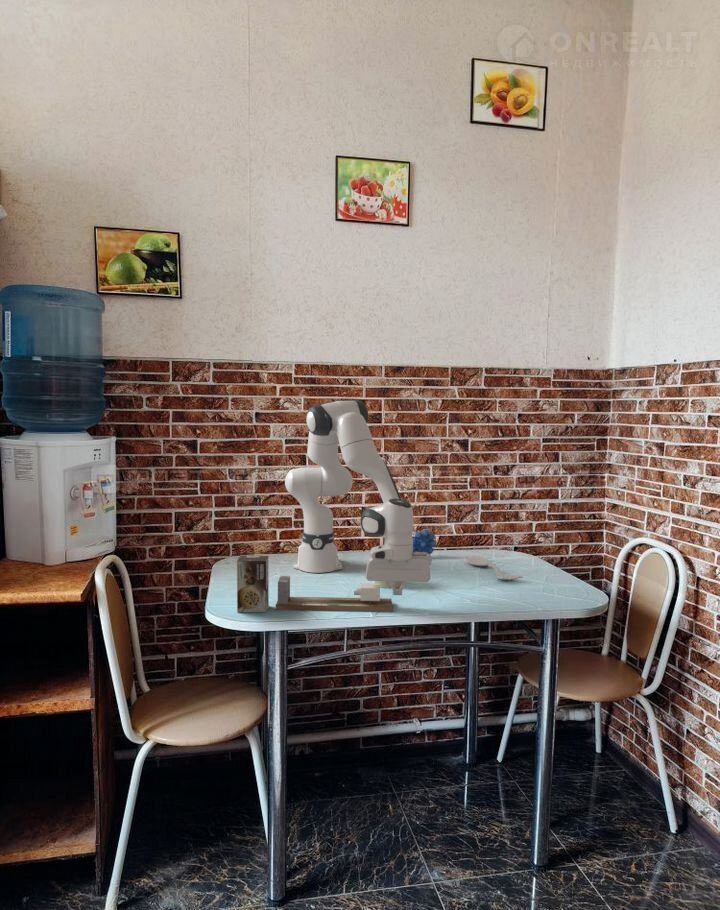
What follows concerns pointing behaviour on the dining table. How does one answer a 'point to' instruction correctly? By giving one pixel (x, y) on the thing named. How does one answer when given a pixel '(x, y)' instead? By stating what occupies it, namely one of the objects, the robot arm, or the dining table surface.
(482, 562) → the spoon
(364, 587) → the block
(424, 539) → the grapes
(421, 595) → the dining table surface
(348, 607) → the gauge base
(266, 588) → the coffee box
